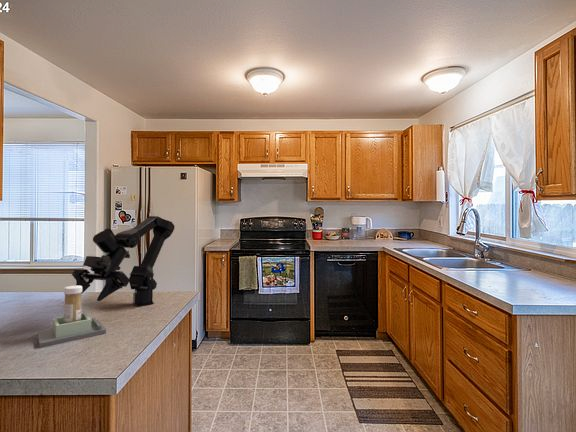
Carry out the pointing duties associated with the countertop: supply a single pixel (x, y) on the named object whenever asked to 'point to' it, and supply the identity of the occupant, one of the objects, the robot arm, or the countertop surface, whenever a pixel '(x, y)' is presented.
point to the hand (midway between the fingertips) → (86, 299)
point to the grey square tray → (70, 331)
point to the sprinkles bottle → (72, 304)
